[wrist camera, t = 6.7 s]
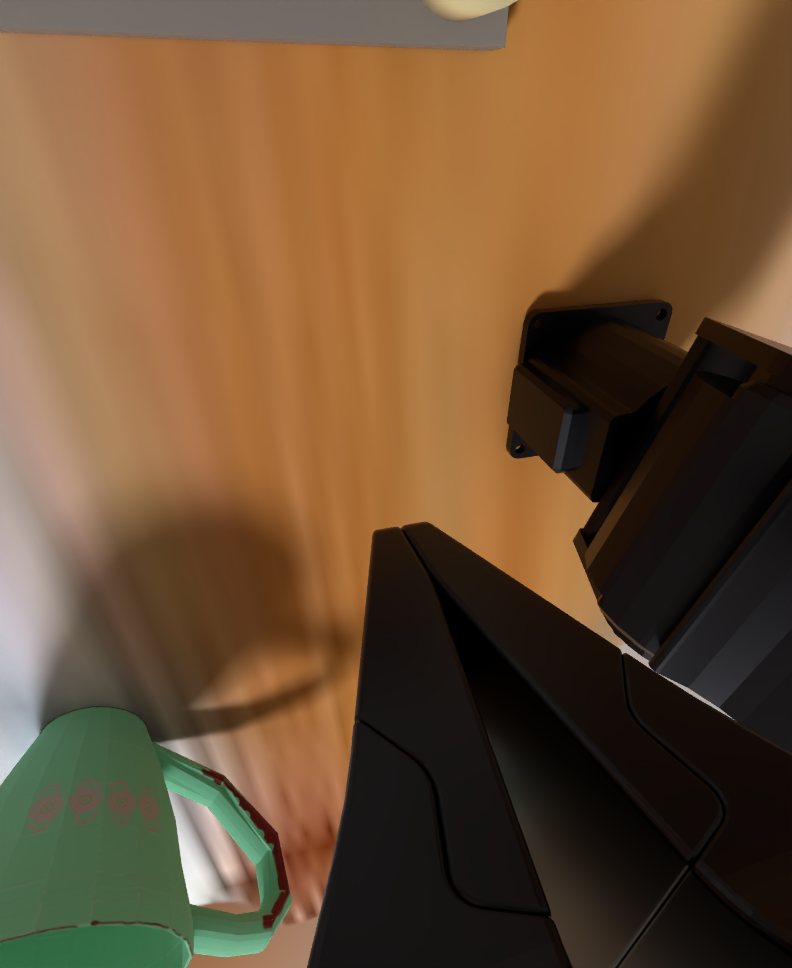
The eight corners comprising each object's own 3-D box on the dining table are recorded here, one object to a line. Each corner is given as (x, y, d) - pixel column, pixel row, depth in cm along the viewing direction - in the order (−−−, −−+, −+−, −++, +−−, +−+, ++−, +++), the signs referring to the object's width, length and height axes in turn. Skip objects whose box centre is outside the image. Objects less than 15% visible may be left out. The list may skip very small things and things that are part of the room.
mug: (-45, 790, 27) (-152, 1075, 19) (6, 658, 23) (-100, 941, 15) (239, 797, 34) (248, 1006, 26) (310, 697, 30) (346, 903, 22)
